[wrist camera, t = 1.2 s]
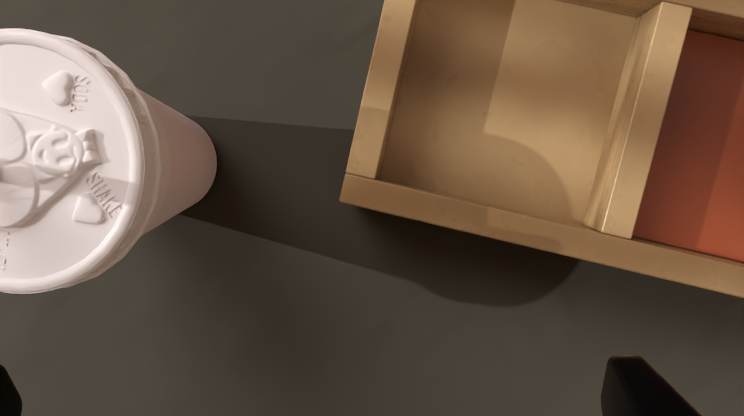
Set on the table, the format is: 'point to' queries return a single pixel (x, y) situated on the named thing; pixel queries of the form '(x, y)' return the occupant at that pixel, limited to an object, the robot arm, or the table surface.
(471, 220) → the caddy
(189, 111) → the table surface
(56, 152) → the smoothie
